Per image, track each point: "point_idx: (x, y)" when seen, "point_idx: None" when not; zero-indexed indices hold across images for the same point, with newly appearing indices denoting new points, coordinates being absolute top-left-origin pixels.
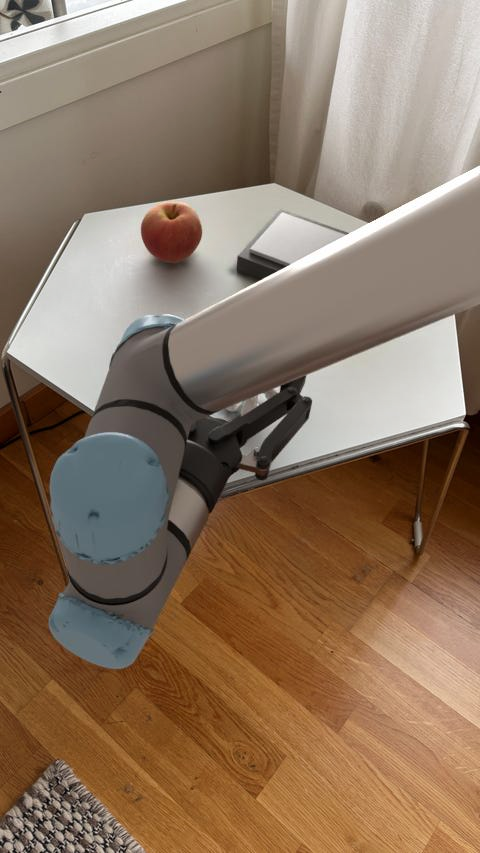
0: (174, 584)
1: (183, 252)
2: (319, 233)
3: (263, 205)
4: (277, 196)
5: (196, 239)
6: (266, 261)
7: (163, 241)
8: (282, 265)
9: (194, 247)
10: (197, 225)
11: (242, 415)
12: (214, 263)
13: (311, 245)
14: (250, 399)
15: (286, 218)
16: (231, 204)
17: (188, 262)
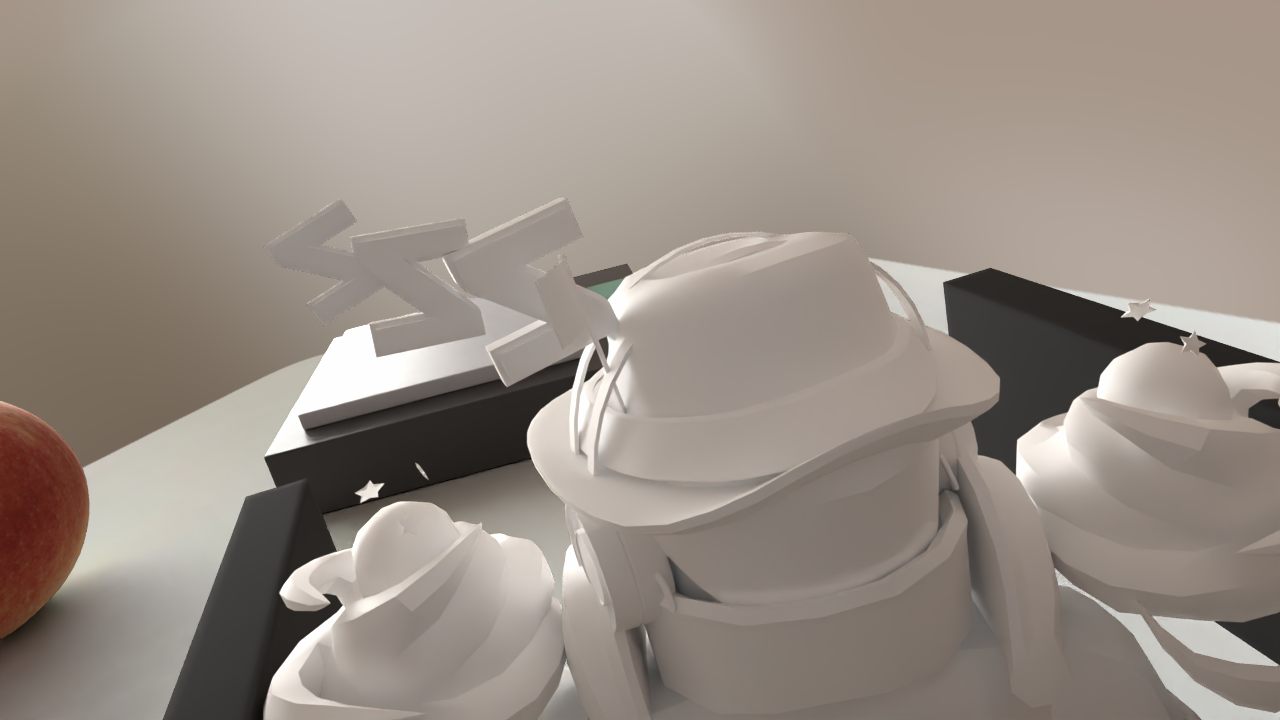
0: None
1: (9, 552)
2: (488, 304)
3: (285, 386)
4: (313, 361)
5: (53, 479)
6: (382, 415)
7: None
8: (445, 394)
9: (61, 516)
10: (34, 429)
11: None
12: (192, 551)
13: (491, 322)
14: None
15: (368, 330)
16: (187, 426)
17: (76, 605)
